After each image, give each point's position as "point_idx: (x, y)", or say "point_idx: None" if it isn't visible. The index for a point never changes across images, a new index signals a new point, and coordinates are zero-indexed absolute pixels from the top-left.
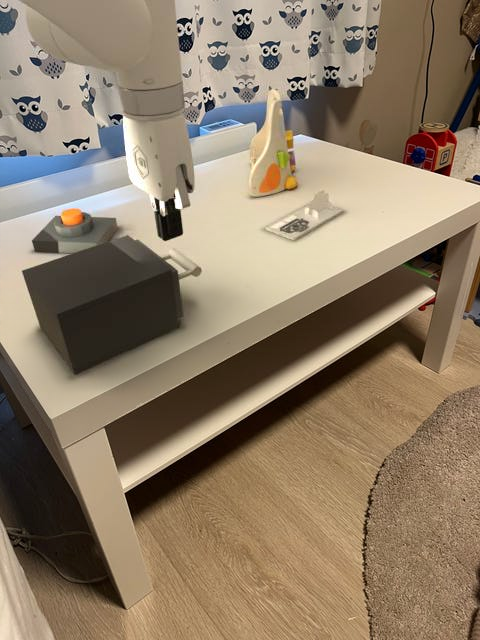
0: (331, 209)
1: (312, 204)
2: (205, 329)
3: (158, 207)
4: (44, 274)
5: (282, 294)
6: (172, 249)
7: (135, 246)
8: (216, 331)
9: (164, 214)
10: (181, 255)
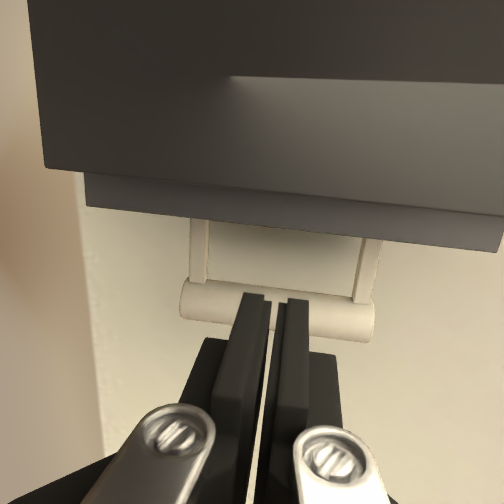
0: None
1: None
2: None
3: (290, 461)
4: None
5: (116, 403)
6: (364, 331)
7: (390, 173)
8: (83, 195)
9: (149, 415)
10: None
